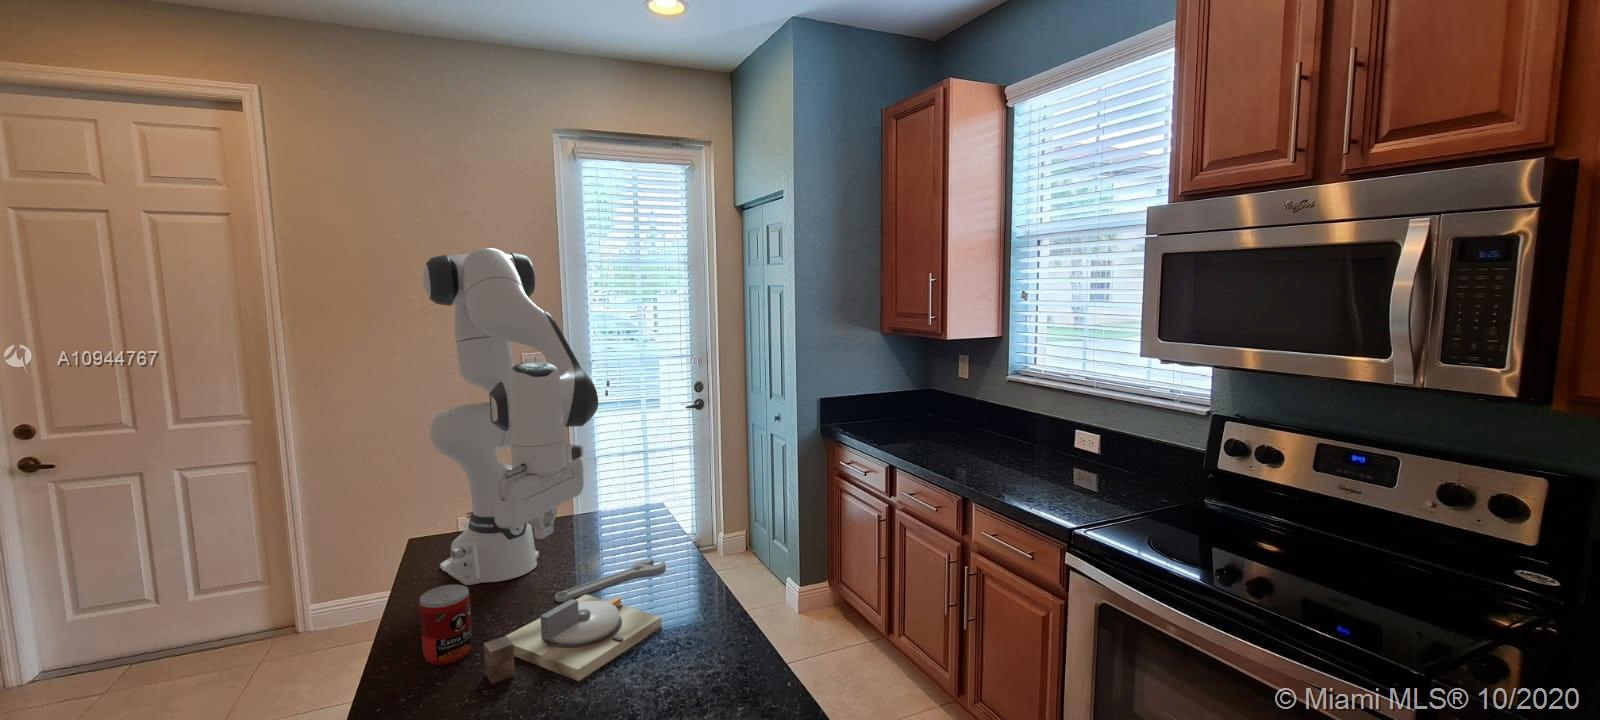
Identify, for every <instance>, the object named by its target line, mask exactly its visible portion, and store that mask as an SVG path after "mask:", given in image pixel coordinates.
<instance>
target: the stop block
mask: <svg viewBox="0 0 1600 720" xmlns="http://www.w3.org/2000/svg"><path fill="white" fill-rule="evenodd" d="M482 645H483V656H484V657H483V658H484V659H483V660H484V673H485V674H484V675H485V676H486V678H487V679H488V681H489V683H491V685H494V684H496V683H497V684H498V683H499V682H502V681H505V680H507V679H510V678H512V677H515V676H516V671H515V669H516V668H515V656H514V650H513V643H512V642H511V641H510V640H509V639H508V638H507V636H506V635H505V636H502V637H498V638H496V639H492V640H489V641H487V642H483V644H482Z"/></svg>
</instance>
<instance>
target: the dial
mask: <svg viewBox="0 0 1600 720" xmlns="http://www.w3.org/2000/svg"><path fill="white" fill-rule="evenodd" d="M606 601H607V602H602V601H585V602H578V601H577V600H576V599H574V598H572V599H569V600H567V601H564V602H563V603H561V604H560V605H558V606H556V607H554V608H552V609H550V610H548V611H547V612H545V613H543V614H541V615H540V617H539V618H541V636H542V638H543V639H546V640H550V641H552V642H554V643H558V644H581V643H587V642H591V641H594V640H597V639H600V638H602V637H604V636H606V635H608V634H610V633H611V632H612V631H613V630H615V628H616V627H617V626H618V624H619V611H618V609H617V607H616V606H617V605H619V604H622V598H621V597H617V596H614V597H613V598H611V599H610V600H606Z"/></svg>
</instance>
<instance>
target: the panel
mask: <svg viewBox="0 0 1600 720" xmlns="http://www.w3.org/2000/svg"><path fill="white" fill-rule="evenodd" d="M575 600H577V601H578V602H585V601H602V602H607V601H608V600H605V599H603V598H600V597H595V596H592V595H589V594H584V595H581V596H579V597H578V598H575ZM616 607H617V609H618V611H619V624H618V626H617V627H616V628H615V630H613V631H612V632H611V633H610V634H608V635H606V636H604V637H602V638H600V639H597V640H594V641H591V642H587V643H581V644H558V643H554V642H552V641H550V640H546V639H543V638H542V636H541V618H540V617H539V618H537V619H535V620H534V621H531V622H530V623H528V624H525V625H524V626H522V627H519V628H518V629H516V630H514V631H512V632H510V633H508V634H506V635H505V636H507V638H508V639H509V640H510V641H511V642H512V643H513V650H514V657H516V658H519V659H521V660H523V661H526V662H529V663H531V664H533V665H536V666H539V667H542V668H544V669H546V670H549V671H552V672H555V673H557V674H559V675H561V676H564V677H567V678H569V679H572V680H574V681H577V682H580V681H582V680H583V679H584V678H586V677H588V676H589V675H591V674H592V673H593V672H595V671H596V670H598V669H600V668H602V666H604V665H606V664H608V663H609V662H610V661H612V660H614V659H615V658H617V657H618V656H619V655H621V654H622V653H625V652H626V651H627V650H629V649H630V648H632V647H634V646H635V645H636V644H638V643H639V642H641V641H642V640H644V639H645V638H647V637H649V636H651V635H652V634H653V633H655V632H656V631H658V630H659V629H661V628H662V627H661V626H663V625H662V616H660V615H656V614H653V613H649V612H646V611H642V610H640V609H635V608H633V607H629V606H626V605H623V603H620V604H619V605H617V606H616ZM660 627H661V628H660ZM658 628H659V629H658ZM657 629H658V630H657ZM655 630H656V631H655ZM654 631H655V632H654ZM652 632H653V633H652ZM651 633H652V634H651ZM648 635H649V636H648Z"/></svg>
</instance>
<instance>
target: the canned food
mask: <svg viewBox="0 0 1600 720" xmlns="http://www.w3.org/2000/svg"><path fill="white" fill-rule="evenodd" d="M470 602H471V600H470V592H469V588H468V587H467V585H466V586H465V585H464V584H463V585H462V584H445V585H440V586H438V587H434V588H432V589H429V590H428V591H425V592H424V593H422V594H421V596H420V597H419V614H420V615H419V617H420V627H421V640H422V652H423V657H424V659H425V661H426V663H428V664H431V665H448V664H451V663H454V662H457V661H460V660H461V659H463V658H465V657H467V655H468V654H470V653H471V650H472V647H473V635H472V633H473V632H472V621H471V620H472V618H471V617H472V616H471V603H470Z"/></svg>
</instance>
